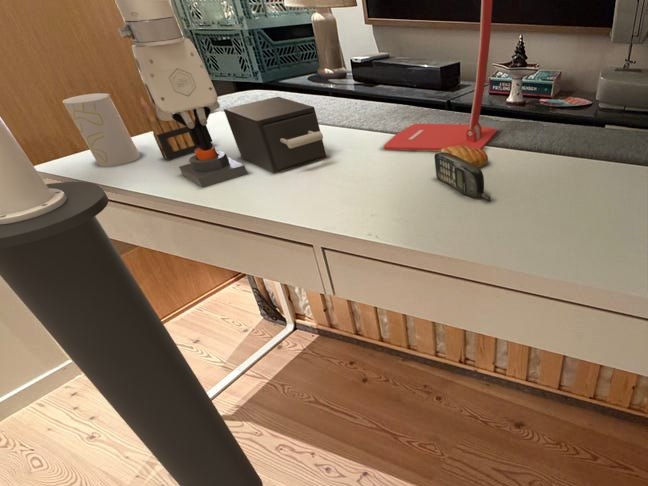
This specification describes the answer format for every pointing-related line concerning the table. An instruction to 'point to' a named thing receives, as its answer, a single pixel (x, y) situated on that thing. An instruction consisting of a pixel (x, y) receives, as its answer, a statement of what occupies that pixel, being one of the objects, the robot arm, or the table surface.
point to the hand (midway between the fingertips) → (205, 147)
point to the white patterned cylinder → (102, 128)
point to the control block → (212, 169)
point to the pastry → (468, 154)
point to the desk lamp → (455, 133)
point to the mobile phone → (460, 174)
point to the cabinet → (251, 133)
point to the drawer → (294, 140)
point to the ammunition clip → (170, 134)
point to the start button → (206, 153)
